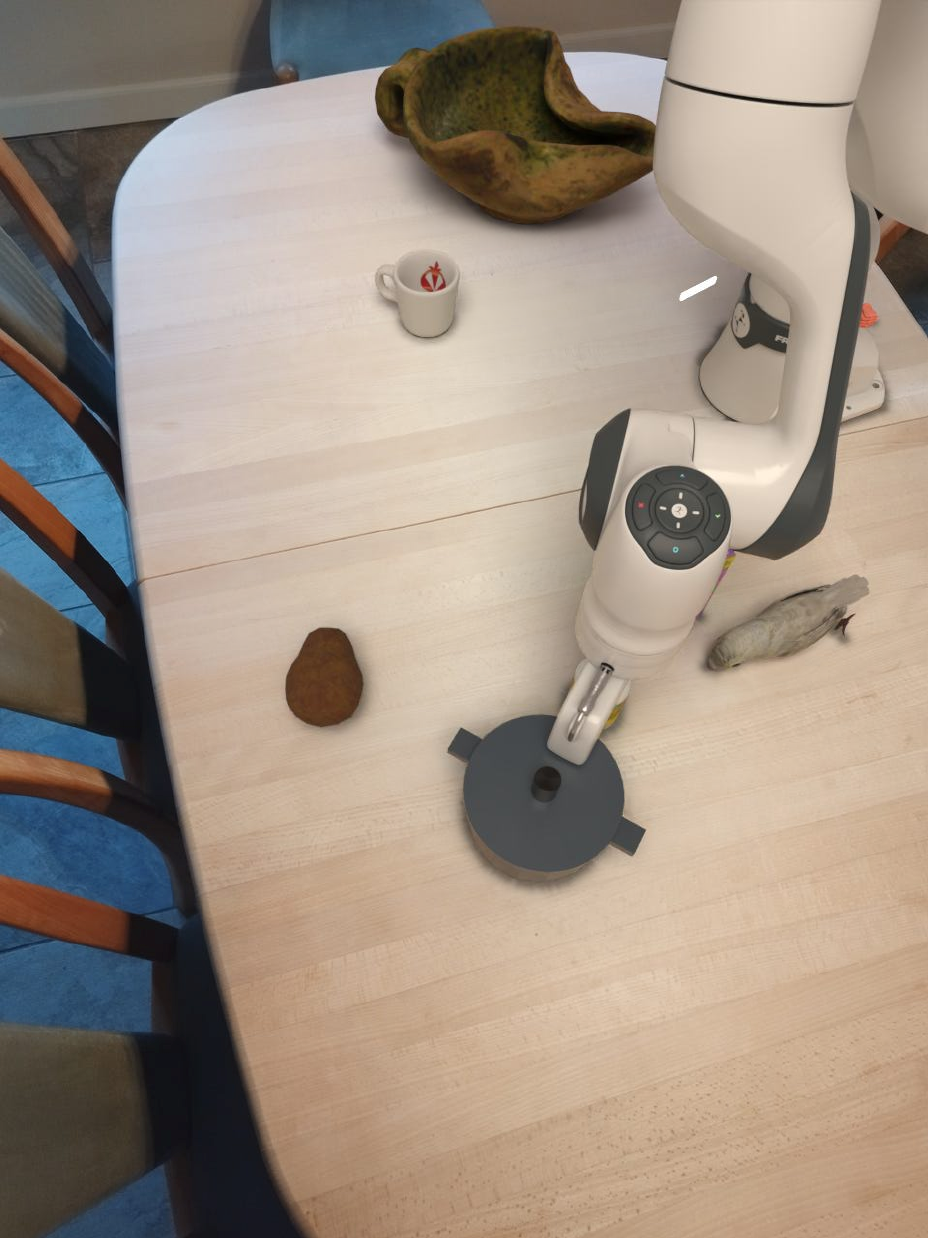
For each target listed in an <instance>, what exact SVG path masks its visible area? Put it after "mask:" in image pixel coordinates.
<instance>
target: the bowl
mask: <svg viewBox="0 0 928 1238" xmlns="http://www.w3.org/2000/svg"><path fill="white" fill-rule="evenodd" d="M376 82H377V83H376V86H375V90H374V91H375V93H374V100H375V107H376V114H377V116H378V117H379V119H380V121H381V123H382V124H383V126H384V127H385V129H386V130H388V131H389V132H390V133H391V134H393V135H395V136H398V137H402V138H405V139H408V140H409V142H410V144H411V146H412V148H413V149H414V151H415V153H416V154H417V156H418V157H419V158H420V159H421V161H423V162H424V163H425V164H426V165H427V166H428V167H429V168H430V169H431V170H432V172H434V173H435V174H436V175H437V176H438V177H439V178H440V179H441V180H442V181H444V182H445V183H446V184H447V185H448V186H450V188H452V189H454V190H456V191H457V192H458V193H460V194H461V195H463V196H465V197H466V198H468V199H470V200H471V201H473V202H474V203H475V204H476V205H477V206H478V207H479V209H481V210H482V211H483V212H485V213H486V214H487V215H490V216H492V217H495V218H497V219H501V220H507V221H510V222H513V223H516V224H521V225H522V224H523V225H525V224H526V225H527V224H528V225H530V224H531V225H533V224H536V223H539V224H543V223H547V222H551V221H555V220H558V219H560V218H562V217H564V216H566V215H569V214H570V213H572V212H576V211H578V210H581V209H584V208H586V207H588V206H590V205H592V204H594V203H597V202H599V201H601V200H603V199H605V198H606V197H610V196H611V195H613V194H614V193H616V192H619V191H620V190H623V189H624V188H626V187H629V186H630V185H632V184H634V183H635V182H637V181H639V180H640V179H642V178H644V177H645V176H647V175H650V173H652V172H653V152H654V140H655V129H656V123H654V121H651V120H650V119H647V118H646V117H643V116H641V115H640V114H639V115H638V114H635V113H632V112H631V113H630V112H623V111H608V110H607V111H605V110H601V109H600V108H598V107H597V106H596V105H595V104H593V103H592V102H591V101H590V100H589V98H588V97H587V96H586V95H585V94H584V93H583V92H582V91H581V90H580V89H579V87H578V85H577V83H576V81H575V79H574V75H573V73H572V70H571V67H570V66H569V64H568V63H567V61H566V57H565V54H564V50H563V47H562V44H561V42H560V39H559V37H558V35H557V34H556V33H555V31H553V30H551V29H546V28H542V27H538V26H537V27H536V26H523V25H515V26H514V25H513V26H496V27H495V26H494V27H488V28H479V29H476V30H473V31H470V32H465V33H462V34H459V35H457V36H455V37H452V38H449V39H447V40H445V41H442V42H441V43H440V44H438V45H437V46H434V47H433V48H431V49H430V50H428V49H425V48H420V47H411V48H409V49H408V50H407V51H405V52H404V53H403V54H402V55H401V56H400V58H399V59H398V60H397V62H395V63H394V64H392V65H391V66H389V67H386V68H384V70H383V71H382V72H381V74H380V75H379V76H378V79H377V81H376Z"/></svg>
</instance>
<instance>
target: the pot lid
mask: <svg viewBox="0 0 928 1238" xmlns="http://www.w3.org/2000/svg"><path fill="white" fill-rule="evenodd" d="M557 716H558V715H557ZM557 716H555V715H552V714H529V715H522V716H518V717H515V718H512V719H509V720H508V721H505V722H503V723H500V724H499V725H498V726H496V727H494V728H493V729H491V731H489V732H488V733H487V734H486V735H485V736H484V737H483V738H481V739H482V740H481V741H480V743H479V744H478V745H477V747H476V748H475V750H474V751H473V753H472V755H471V757H470V759H469V762H468V764H467V765H466V767H465V772H464V776H463V784H462V796H463V797H462V798H463V805H464V811H465V813H466V817H467V821H468V823H469V822H470V824H471V826H472V828H473V830H474V832H475V833H476V835H477V836H478V838H479V839H480V841H481V842H482V843H483V844H484V845H485V846H486V848H487V849H489V850H490V851H491V852H492V853H493V854H494V855H495V856H497V857H498V858H500V859H501V860H503V861H504V862H506V863H508V864H510V865H512V866H514V867H517V868H519V869H522V870H525V871H530V872H534V873H545V874H548V873H560V872H565V871H569V870H572V869H575V868H578V867H580V866H581V867H583V866H584V865H586V864H588V863H590V862H591V861H592V860H594V859H595V858H597V857H598V856H599V855H600V854H601V853H602V852H603V851H604V850H605V849H606V848H607V846H609V845H610V844H609V843H610V841H611V840H612V838H613V837H614V835H615V833H616V832H617V829H618V827H619V825H620V822H621V818H622V817H623V814H624V809H625V787H624V786H625V785H624V780H623V776H622V774H621V770H620V767H619V765H618V763H617V761H616V760H615V758H614V756H613V753H611V751H610V750H609V749H608V747H607V746H606V745H605V744H604V743H603V741H602V740H601V739H600V738H598V740H597V741H596V743H595V745H594V747H593V749H592V751H591V753H590V755H589V756H588V758H587V760H586V761H585V762H584V763H583V764H582V765H577V764H574V763H572V762H570V761H568V760H566V759H564V758H562V757H560V756H558V755H557V754H555V753H554V752H552V751H551V750H550V749H549V748H548V747H547V741H548V738H549V736H550V733H551V731H552V728H553V725H554V723H555V721H556V718H557ZM581 867H580V868H581Z"/></svg>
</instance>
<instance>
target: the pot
mask: <svg viewBox="0 0 928 1238" xmlns="http://www.w3.org/2000/svg"><path fill="white" fill-rule="evenodd" d="M482 739H483V738H481V737H479V736H478V735H476V734H474V733H472V732H471V731H469V730H467V729H465V728H463V727H460V728H459V729H458V731H457V733H456V734H455V736H454V737H453V739H452V741H451V742H450V744H449V746H448V747H447V752H446V753H447V754H449V755H451V756H452V757H454V758H456V759H457V760H459V761H460V762H463V763H465V764H468V762H469V759H470V757H471V755H472V753H473V751H474V750H475V748H476V747H477V745H478V744H479V743H480V741H481V740H482ZM468 824H469V829H470V833H471V836H472V838H473V842H474V844H475V845H476V847H477V848H478V850H479V851H480V853H481V854H482V856H483V857H484V858H485V859H486V860H487V862H489V863H490V864H491V865H492V866H493V867H494V868H496V869H497V870H498V871H500V872H502V873H503V874H505V875H507V876H509V877H511V878H513V879H516V880H519V881H524V882H527V883H528V882H529V883H549V882H553V881H558V880H561V879H563V878H566V877H569V876H571V875H572V874H574V873H575V872H576V871H578V870H579V869H581V868H582V866H580V867H578V868H575V869H572V870H569V871H565V872H560V873H548V874H545V873H534V872H530V871H525V870H522V869H519V868H517V867H514V866H512V865H510V864H508V863H506V862H504V861H503V860H501V859H500V858H498V857H497V856H495V855H494V854H493V853H492V852H491V851H490V850H489V849H487V848H486V846H485V845H484V844H483V843H482V842H481V841H480V839H479V838H478V836H477V835H476V833H475V832H474V830H473V828H472V826H471V824H470V822H469V821H468ZM646 832H647V829H646V828H645V827H642V826H640V825H639V824H637V823H635V822H633V821H632V820H630V819H628V818H626V817H624V816H622V818H621V822H620V825H619V827H618V829H617V832H616V833H615V835H614V837H613V838H612V840H611V841H610V843H609V844H608V845H610V846H612V847H613V848H615V849H617V850H619V851H621V852H622V853H624V854H626V855H628V856H629V857H631V858H632V857H634V855H636V852H637V849H638V848H639V846H640V844H641V842H642V840H643V837H644V835H645V834H646Z"/></svg>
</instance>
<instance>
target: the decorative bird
mask: <svg viewBox="0 0 928 1238" xmlns="http://www.w3.org/2000/svg"><path fill="white" fill-rule="evenodd" d="M869 585H870V584H869V580H868V579H867V578H866V577H865V576H860V575H859V574H853V575H851V576H849V577H843V578H840V579H839V580H837V581H836V582H834V583H832V584H828V583H827V584H823V585H820V586H815V587H809V588H804V589H801V590H798V591H795V592H792V593H789V594H787V595H785V596H782V597H780V598H779V599H776V600H775V601H774V602H772V603H771V604H769V605H768V606H767V607H766V608H764V609H763V610H762V611H761V612H760V613H759V614H757V616H756V617H755V618H753V619H752V620H750V621H747V622H745V623H741V624H739V625H736V626H735V627H732V628H731V629H729V630H727V631H726V632H725V633H723V634H721V636H719V637H718V638H717V640H716V642H715V643H714V644H713V647H712V649H711V650H710V654H709V657H708V668H709V670H711V671H715V672H717V671H718V672H721V671H725V670H729V669H731V668H736V667H740V666H742V665H744V664H746V663H748V662H750V661H752V660H755V659H756V660H757V659H767V658H785V657H790V656H793V655H797V654H798V653H800V652H802V651H804V650H806V649H808V648H810V647H811V646H812V645H814V644H816V643H817V642H819V641H820V640H821V639H822V638H824V637H825V636H826V635H828V633H830V631H832V629H834V631H837V630H839V629H840V628H841V627H842V628H841V632H842V633H841V634H842V635H843V637H845V633H846V628H847V626H848V625H849V621H851V619H852V618H853V617H854V616H856V614H857V613H852V614H850V615H849V616H847V617H845V615H846V614H847V612H848V606H849V605H852V604H854V603H857V602H859V601H860V600H861V599H862V598H864V597H866V596H868V595H869V594H870V588H869V587H868V586H869ZM835 626H836V627H835ZM834 627H835V628H834Z"/></svg>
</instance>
